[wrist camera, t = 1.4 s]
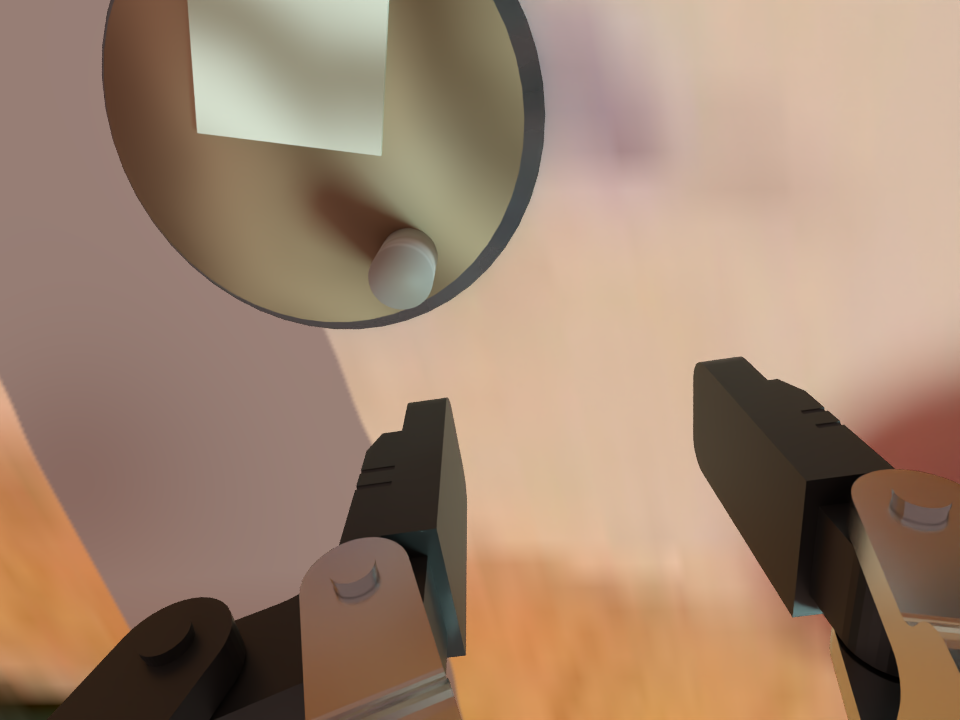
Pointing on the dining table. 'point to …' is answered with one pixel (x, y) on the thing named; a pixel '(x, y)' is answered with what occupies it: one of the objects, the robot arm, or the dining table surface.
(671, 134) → the dining table surface
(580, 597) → the dining table surface
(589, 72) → the dining table surface
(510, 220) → the base plate
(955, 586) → the robot arm
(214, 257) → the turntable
